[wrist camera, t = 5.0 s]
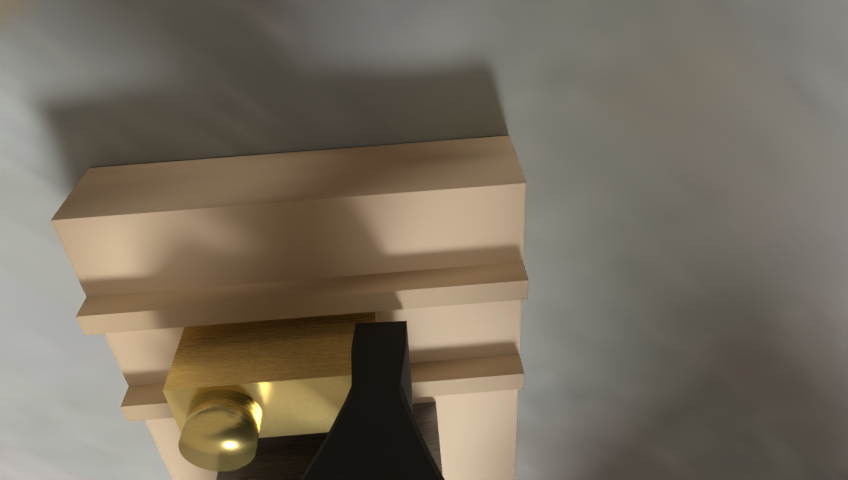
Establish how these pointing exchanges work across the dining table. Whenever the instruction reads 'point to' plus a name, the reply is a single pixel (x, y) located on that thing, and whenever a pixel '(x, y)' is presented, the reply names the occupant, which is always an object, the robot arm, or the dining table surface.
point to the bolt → (258, 384)
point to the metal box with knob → (291, 455)
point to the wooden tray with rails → (317, 270)
